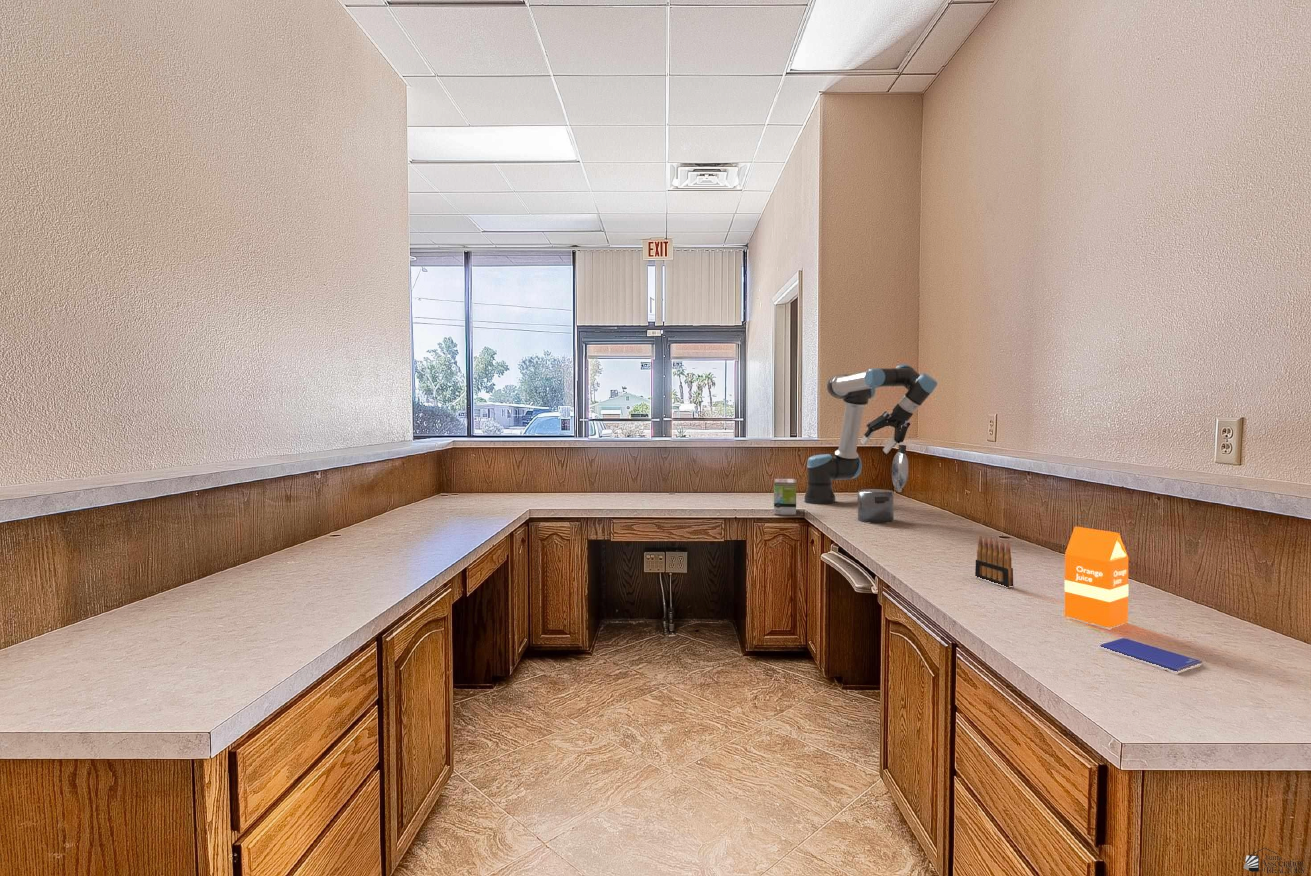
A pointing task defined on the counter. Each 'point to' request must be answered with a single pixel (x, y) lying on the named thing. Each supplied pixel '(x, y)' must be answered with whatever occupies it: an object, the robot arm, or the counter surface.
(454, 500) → the counter surface
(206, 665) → the counter surface
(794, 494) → the tea box
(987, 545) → the ammunition clip
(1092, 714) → the counter surface
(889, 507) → the grey metal cube
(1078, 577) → the orange juice
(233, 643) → the counter surface
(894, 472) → the cooker lid
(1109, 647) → the hard drive
